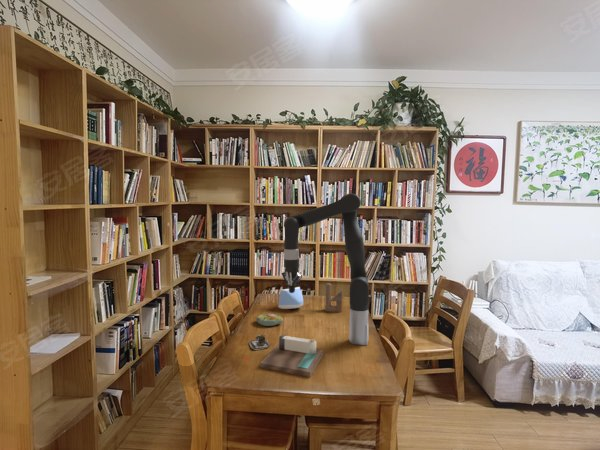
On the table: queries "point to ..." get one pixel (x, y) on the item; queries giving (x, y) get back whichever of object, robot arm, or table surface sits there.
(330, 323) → the table surface
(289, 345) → the white rectangular block
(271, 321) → the cell model
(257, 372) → the table surface
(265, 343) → the dark grey gadget
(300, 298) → the retro all-in-one computer
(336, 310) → the brown notched block
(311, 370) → the board
